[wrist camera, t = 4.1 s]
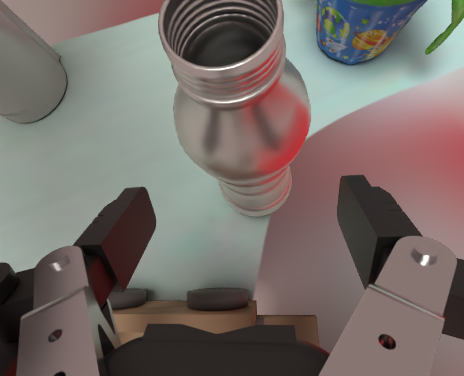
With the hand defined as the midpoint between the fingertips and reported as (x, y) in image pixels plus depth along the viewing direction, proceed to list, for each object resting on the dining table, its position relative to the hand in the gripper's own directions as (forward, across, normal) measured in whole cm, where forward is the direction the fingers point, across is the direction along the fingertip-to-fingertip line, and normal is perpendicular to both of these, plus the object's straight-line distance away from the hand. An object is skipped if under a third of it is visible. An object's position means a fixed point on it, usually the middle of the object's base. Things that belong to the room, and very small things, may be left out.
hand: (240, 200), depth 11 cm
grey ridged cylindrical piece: (+14, 0, +8) cm, 16 cm away
